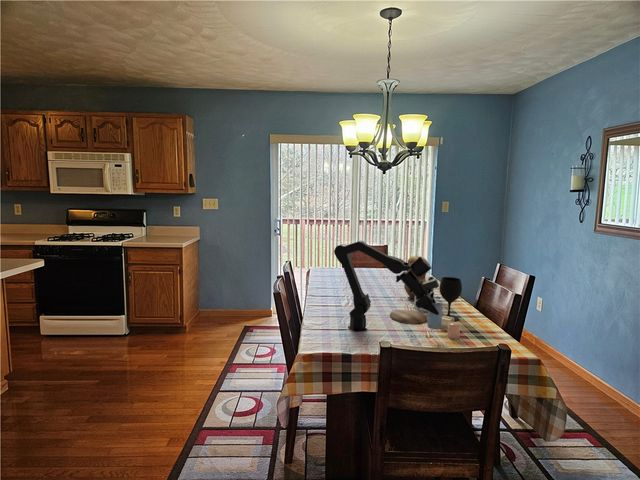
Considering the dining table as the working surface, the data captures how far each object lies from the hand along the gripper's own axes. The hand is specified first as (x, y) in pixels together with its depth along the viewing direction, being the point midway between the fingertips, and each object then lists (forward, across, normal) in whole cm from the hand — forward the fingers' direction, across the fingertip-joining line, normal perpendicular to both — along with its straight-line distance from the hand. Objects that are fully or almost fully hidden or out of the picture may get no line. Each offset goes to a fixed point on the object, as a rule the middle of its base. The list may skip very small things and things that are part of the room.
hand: (438, 312), depth 162 cm
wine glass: (+11, +33, +6) cm, 36 cm away
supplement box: (+2, +45, +16) cm, 48 cm away
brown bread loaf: (-2, +26, +19) cm, 32 cm away
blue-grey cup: (+4, 0, +6) cm, 7 cm away
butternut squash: (-3, +65, +20) cm, 68 cm away
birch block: (+11, +18, +7) cm, 22 cm away
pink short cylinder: (+13, +6, +4) cm, 15 cm away
